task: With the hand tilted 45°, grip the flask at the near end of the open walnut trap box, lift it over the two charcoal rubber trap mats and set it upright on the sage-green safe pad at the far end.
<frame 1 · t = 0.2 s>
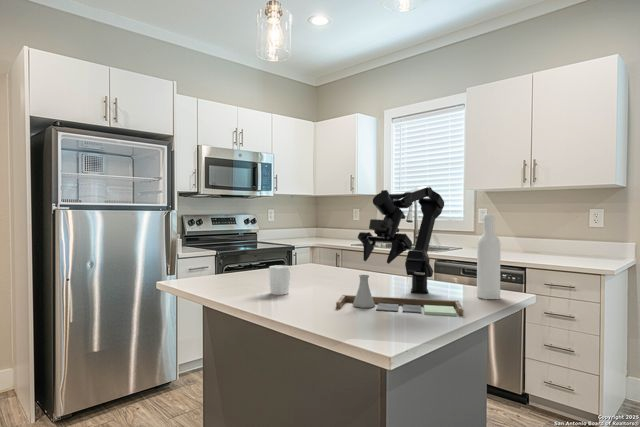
hand: (375, 261, 137), 14 cm above the table, tool tilted 35°, fingers open, 9 cm apart
bottle: (488, 298, 148), on the table
flask: (363, 306, 134), on the table
safe pad: (439, 311, 127), on the table
white cup: (279, 293, 154), on the table
trap box: (398, 307, 132), on the table
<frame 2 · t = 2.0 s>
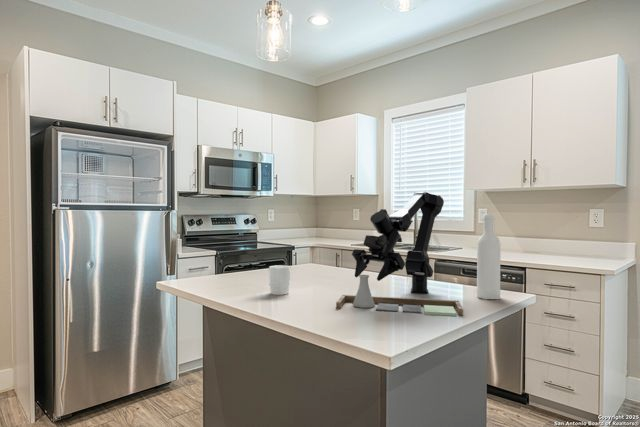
hand: (366, 278, 135), 9 cm above the table, tool tilted 45°, fingers open, 9 cm apart
nothing on the table moved.
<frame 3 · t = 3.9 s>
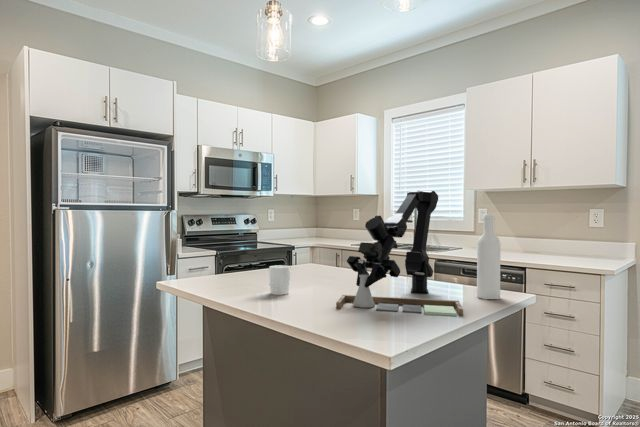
hand: (361, 286, 133), 7 cm above the table, tool tilted 45°, fingers closed on flask, 3 cm apart
flask: (363, 306, 134), on the table, touching gripper
everything else where it was.
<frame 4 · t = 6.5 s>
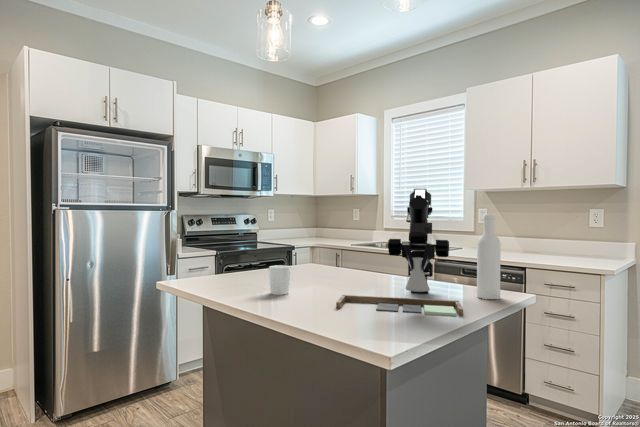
hand: (417, 268, 126), 13 cm above the table, tool tilted 45°, fingers closed on flask, 3 cm apart
flask: (417, 290, 128), point 6 cm above the table, touching gripper
everything else where it was.
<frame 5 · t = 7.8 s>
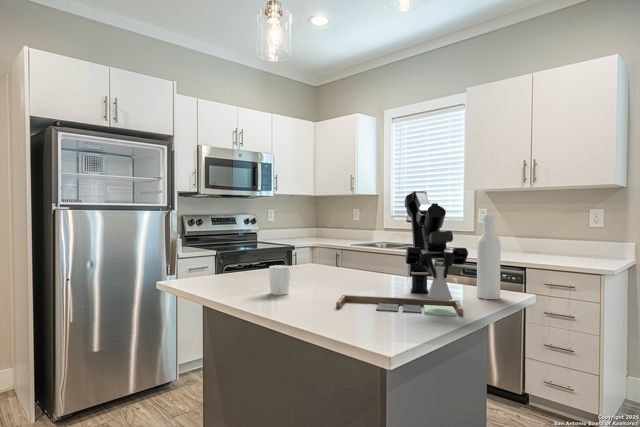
hand: (440, 277, 126), 11 cm above the table, tool tilted 45°, fingers closed on flask, 3 cm apart
flask: (439, 299, 127), point 4 cm above the table, touching gripper
everything else where it was.
when the fingers open (8 cm above the table, at t = 8.9 s): flask stays where it is, resting on safe pad.
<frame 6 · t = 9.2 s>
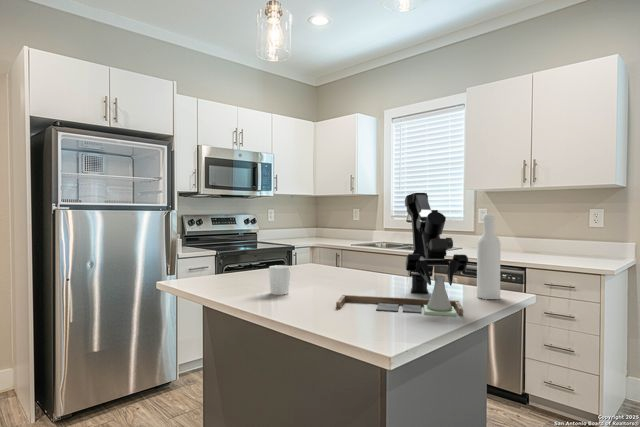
hand: (440, 284, 126), 9 cm above the table, tool tilted 45°, fingers open, 6 cm apart
flask: (439, 309, 127), point 1 cm above the table, touching safe pad
everything else where it was.
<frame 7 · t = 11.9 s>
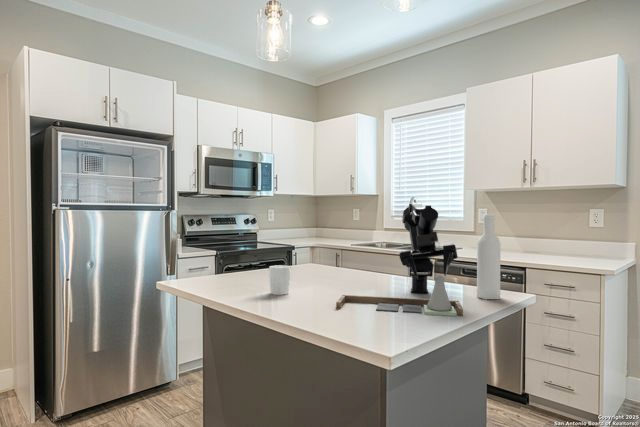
hand: (430, 277, 136), 9 cm above the table, tool tilted 35°, fingers open, 9 cm apart
nothing on the table moved.
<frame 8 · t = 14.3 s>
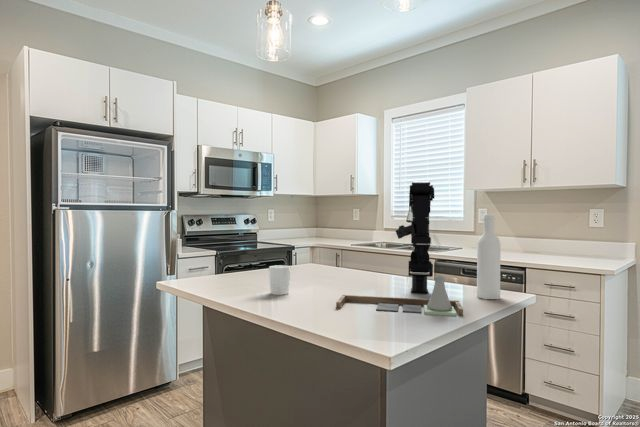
hand: (420, 262, 143), 13 cm above the table, tool pointing down, fingers open, 9 cm apart
nothing on the table moved.
at the end: flask 0.2 cm off-centre on the safe pad, point 0.6 cm above the safe pad's base; flask tilted 0°; the gripper is holding nothing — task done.
